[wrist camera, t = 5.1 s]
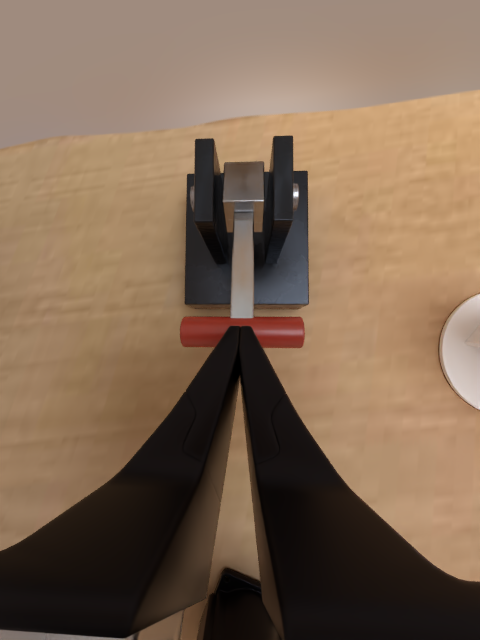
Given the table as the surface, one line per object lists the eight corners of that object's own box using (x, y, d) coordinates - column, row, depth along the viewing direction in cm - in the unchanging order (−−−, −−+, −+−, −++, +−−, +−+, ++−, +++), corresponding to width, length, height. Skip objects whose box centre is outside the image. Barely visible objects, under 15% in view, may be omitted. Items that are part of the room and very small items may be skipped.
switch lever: (297, 352, 12) (308, 341, 9) (189, 351, 12) (174, 340, 10) (288, 196, 15) (294, 159, 13) (202, 198, 15) (194, 162, 13)
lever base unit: (299, 308, 22) (346, 287, 11) (194, 308, 22) (142, 287, 12) (299, 195, 22) (343, 69, 12) (196, 197, 23) (148, 79, 12)
